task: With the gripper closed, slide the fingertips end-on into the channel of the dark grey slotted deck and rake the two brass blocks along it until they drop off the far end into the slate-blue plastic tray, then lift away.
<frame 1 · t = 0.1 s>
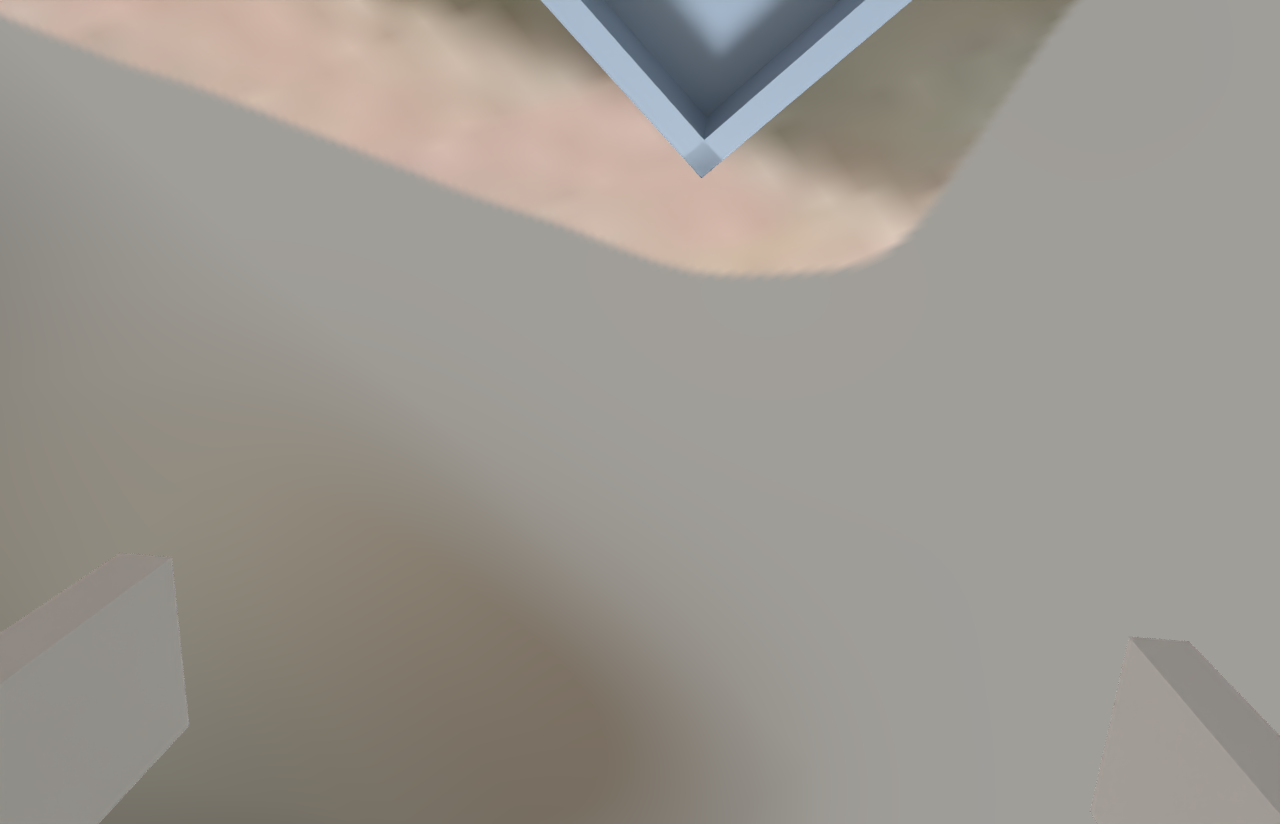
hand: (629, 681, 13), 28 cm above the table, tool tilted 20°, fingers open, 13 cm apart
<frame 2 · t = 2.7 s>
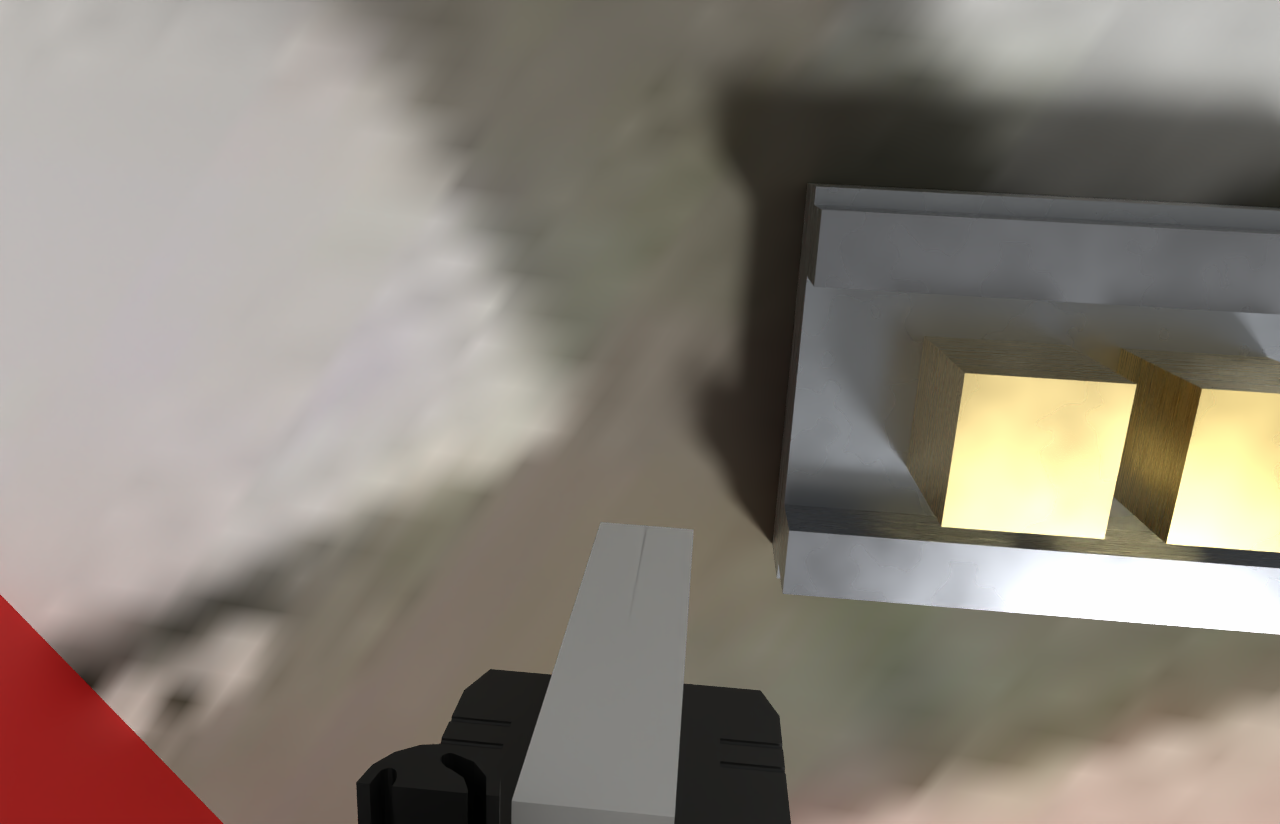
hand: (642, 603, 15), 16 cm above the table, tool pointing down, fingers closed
slotted deck: (1042, 391, 29), on the table
brass block 2: (1179, 420, 26), point 2 cm above the table, touching slotted deck
brass block 1: (984, 407, 27), point 2 cm above the table, touching slotted deck
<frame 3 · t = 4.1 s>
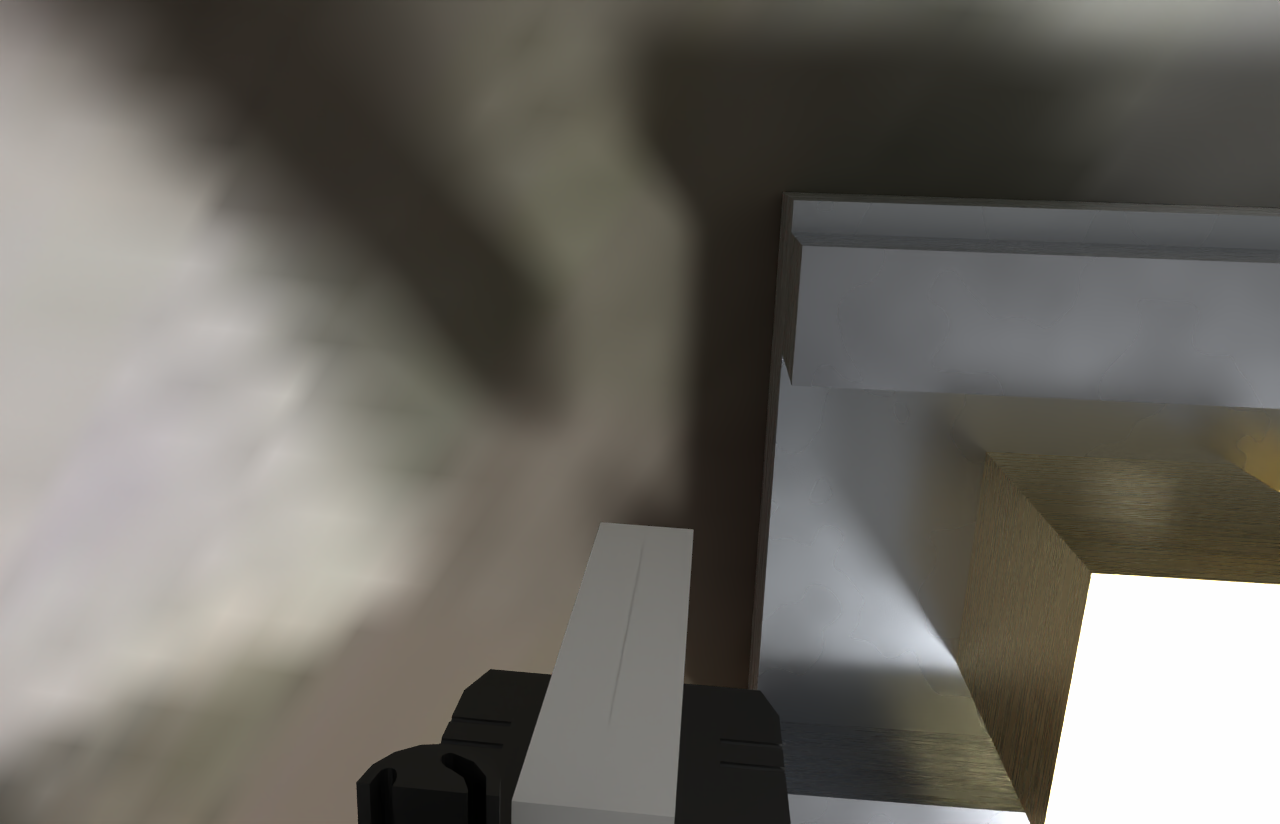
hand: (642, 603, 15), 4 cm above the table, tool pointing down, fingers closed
slotted deck: (1170, 518, 18), on the table
brass block 1: (1089, 567, 16), point 2 cm above the table, touching slotted deck
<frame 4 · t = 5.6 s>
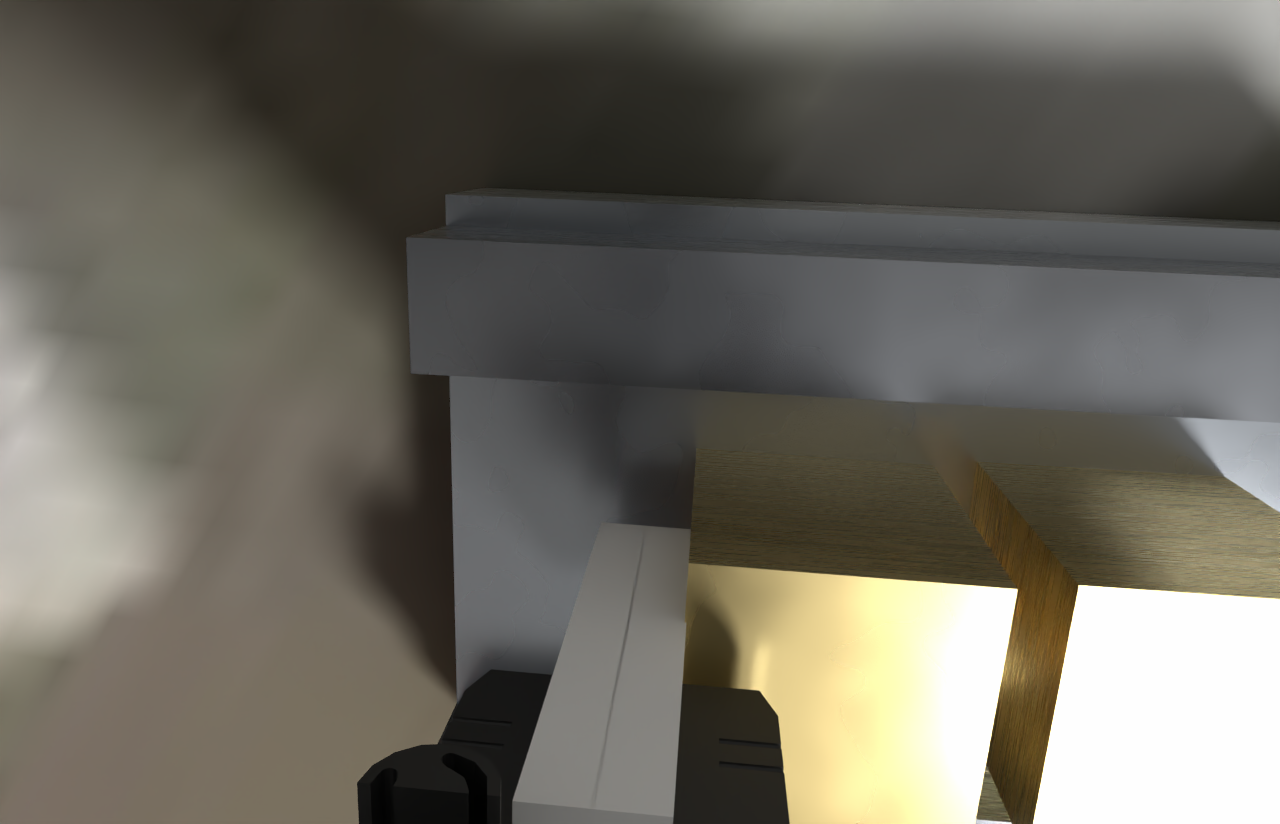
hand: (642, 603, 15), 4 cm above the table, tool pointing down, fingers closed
slotted deck: (878, 511, 18), on the table
brass block 2: (1078, 578, 16), point 2 cm above the table, touching slotted deck
brass block 1: (802, 563, 16), point 3 cm above the table, touching gripper, slotted deck
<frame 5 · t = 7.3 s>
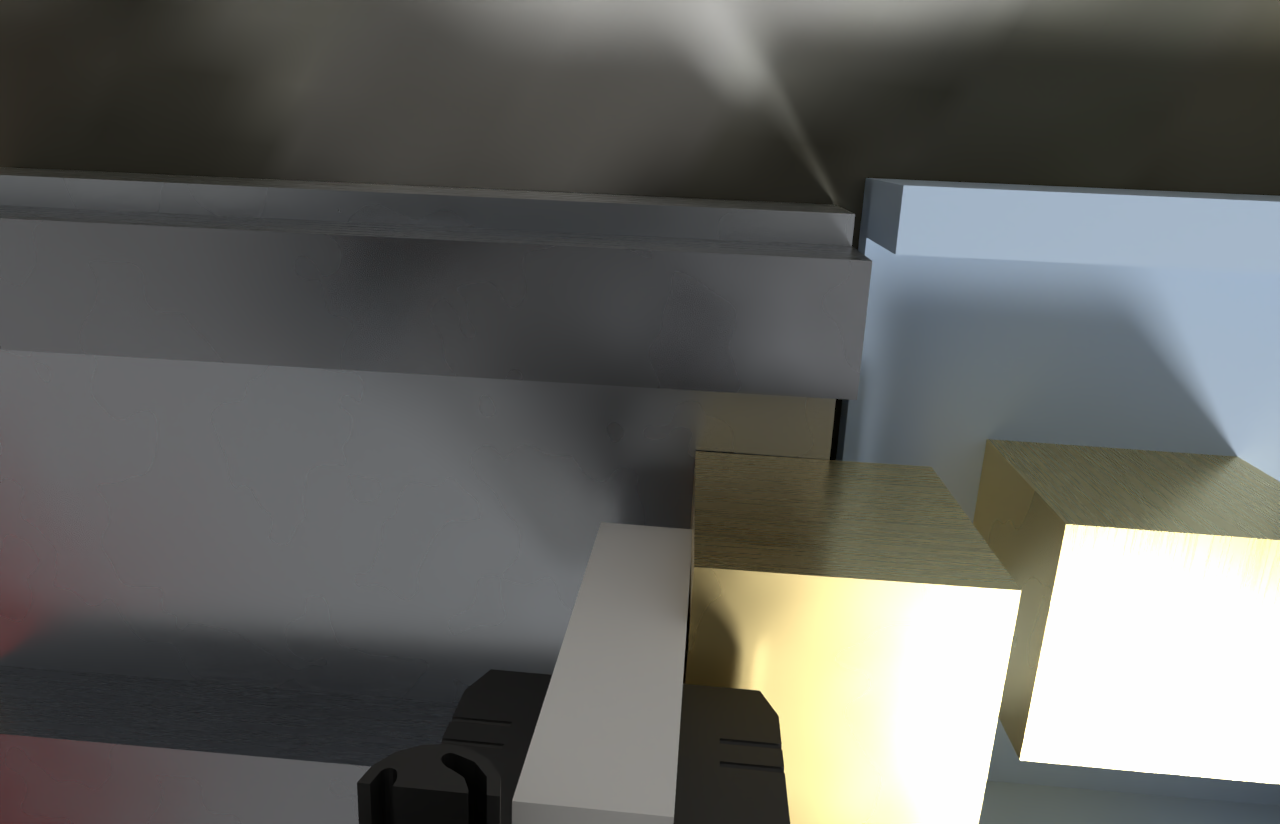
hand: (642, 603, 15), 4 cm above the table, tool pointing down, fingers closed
tray: (1110, 527, 18), on the table
slotted deck: (418, 481, 19), on the table
brass block 2: (1001, 585, 16), point 3 cm above the table, tilted 90°, touching tray
brass block 1: (801, 565, 16), point 3 cm above the table, touching gripper
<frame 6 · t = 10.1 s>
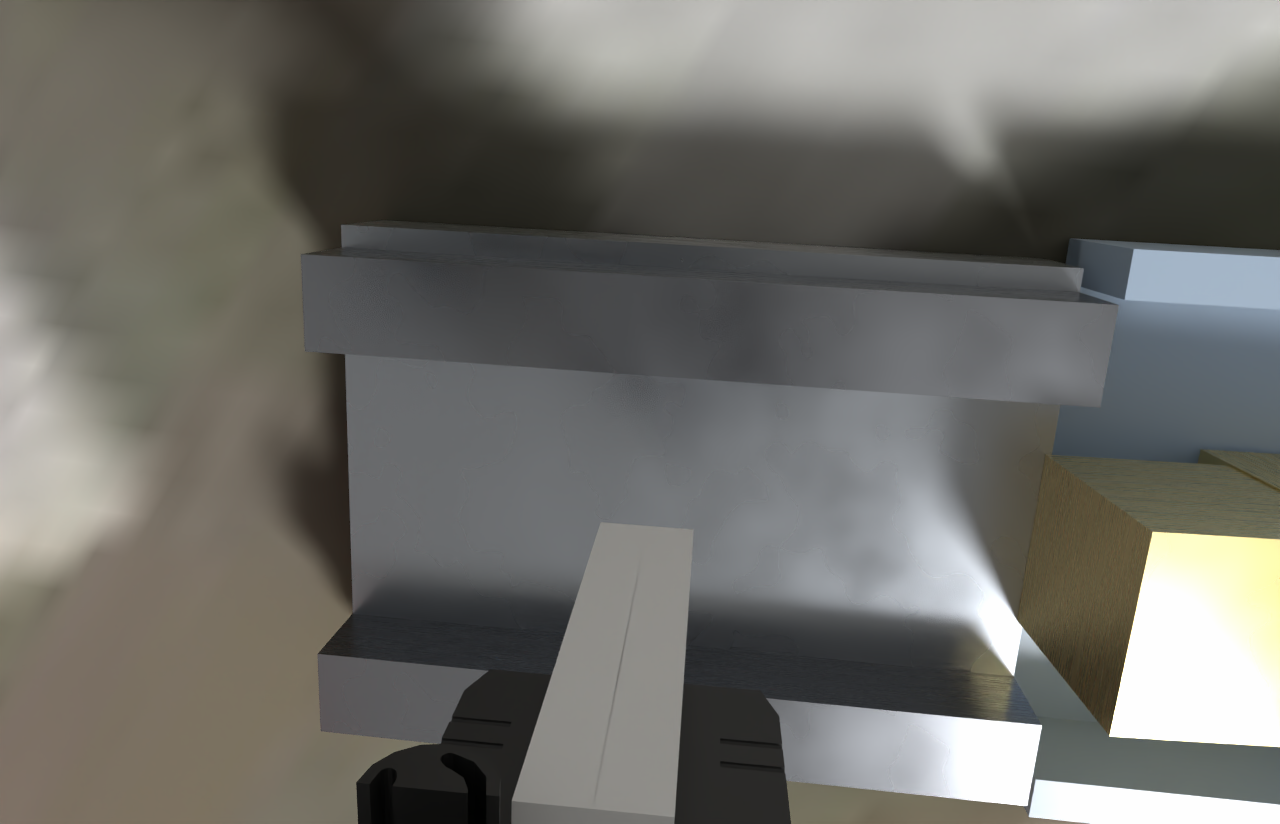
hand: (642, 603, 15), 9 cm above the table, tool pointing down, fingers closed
tray: (1255, 519, 22), on the table
slotted deck: (687, 474, 23), on the table
brass block 2: (1234, 565, 20), point 3 cm above the table, tilted 94°, touching brass block 1, tray
brass block 1: (1120, 544, 20), point 2 cm above the table, touching brass block 2, slotted deck
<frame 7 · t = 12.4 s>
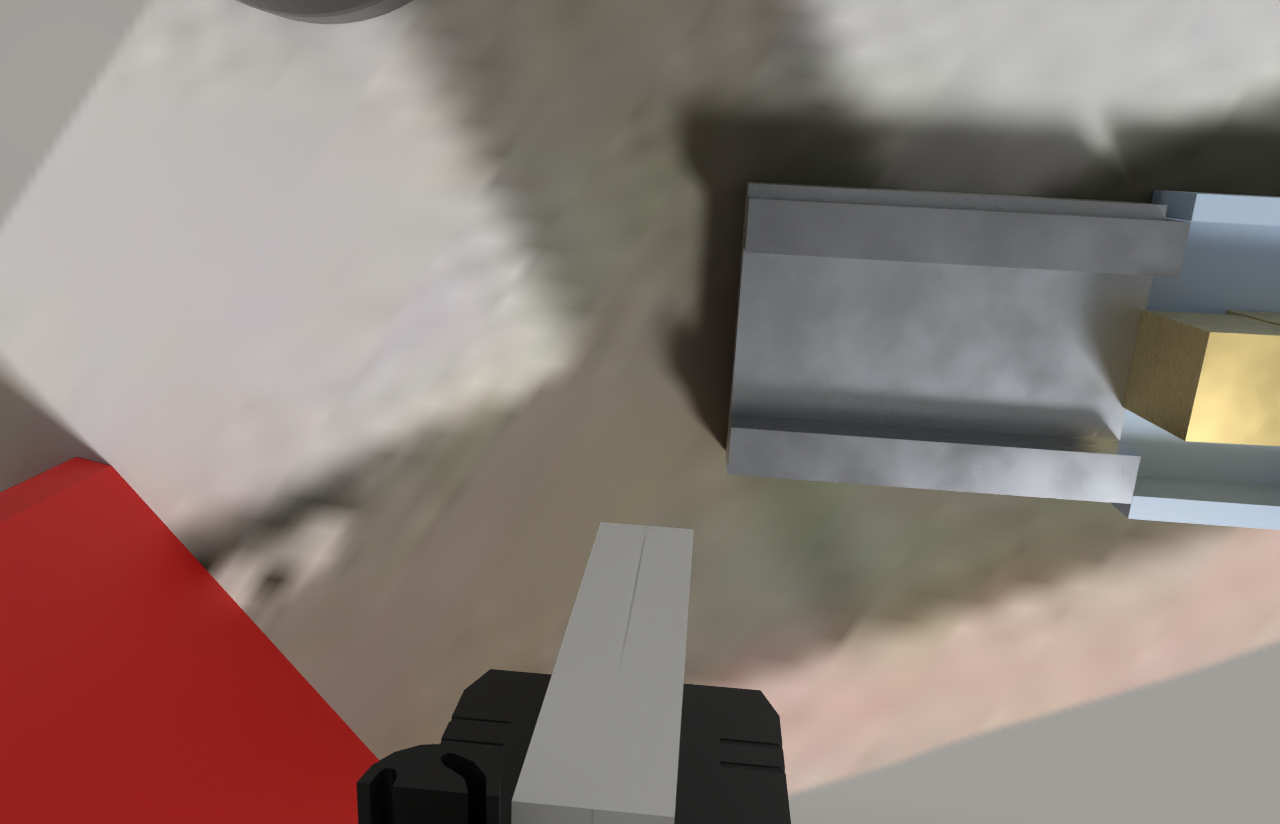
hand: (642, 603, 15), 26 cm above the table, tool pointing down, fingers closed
tray: (1256, 354, 39), on the table
slotted deck: (920, 333, 39), on the table
book: (227, 686, 48), on the table
brass block 2: (1246, 368, 36), point 3 cm above the table, tilted 94°, touching brass block 1, tray
brass block 1: (1182, 362, 37), point 2 cm above the table, touching brass block 2, slotted deck
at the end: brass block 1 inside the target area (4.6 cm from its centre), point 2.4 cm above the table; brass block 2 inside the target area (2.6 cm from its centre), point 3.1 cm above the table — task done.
